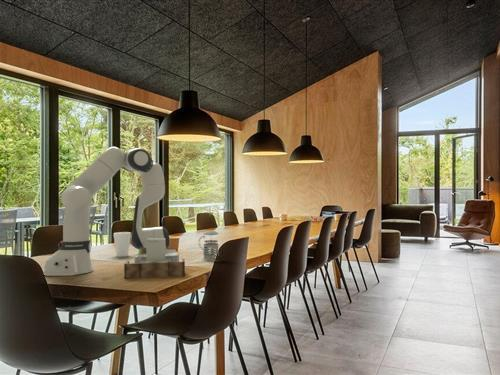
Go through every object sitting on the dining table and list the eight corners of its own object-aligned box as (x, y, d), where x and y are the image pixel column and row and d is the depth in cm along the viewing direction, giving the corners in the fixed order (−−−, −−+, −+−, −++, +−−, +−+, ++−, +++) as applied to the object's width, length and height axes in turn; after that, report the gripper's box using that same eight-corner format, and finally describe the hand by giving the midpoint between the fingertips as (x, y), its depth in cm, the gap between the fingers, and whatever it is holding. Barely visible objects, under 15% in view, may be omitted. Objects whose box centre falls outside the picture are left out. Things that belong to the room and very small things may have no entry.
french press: (217, 260, 221) (217, 212, 221) (196, 260, 223) (195, 212, 223) (222, 257, 231) (222, 211, 231) (202, 257, 233) (201, 211, 233)
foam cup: (121, 257, 235) (121, 233, 235) (110, 256, 240) (109, 233, 240) (134, 255, 243) (134, 232, 244) (123, 254, 248) (122, 231, 248)
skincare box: (145, 275, 183) (145, 239, 183) (146, 272, 190) (146, 237, 190) (165, 274, 185) (165, 238, 185) (165, 271, 191) (165, 237, 191)
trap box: (124, 278, 178) (124, 262, 178) (126, 274, 186) (126, 259, 186) (184, 275, 182) (184, 260, 182) (184, 272, 190) (184, 257, 190)
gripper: (135, 250, 202) (132, 254, 189) (179, 249, 206) (179, 253, 192) (135, 263, 202) (132, 269, 189) (179, 262, 206) (179, 267, 192)
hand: (156, 261), depth 190 cm, fingers closed, pressing on skincare box
